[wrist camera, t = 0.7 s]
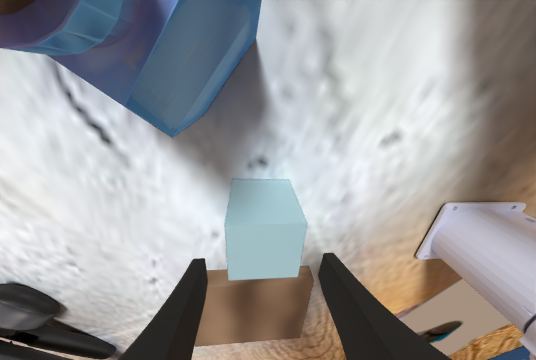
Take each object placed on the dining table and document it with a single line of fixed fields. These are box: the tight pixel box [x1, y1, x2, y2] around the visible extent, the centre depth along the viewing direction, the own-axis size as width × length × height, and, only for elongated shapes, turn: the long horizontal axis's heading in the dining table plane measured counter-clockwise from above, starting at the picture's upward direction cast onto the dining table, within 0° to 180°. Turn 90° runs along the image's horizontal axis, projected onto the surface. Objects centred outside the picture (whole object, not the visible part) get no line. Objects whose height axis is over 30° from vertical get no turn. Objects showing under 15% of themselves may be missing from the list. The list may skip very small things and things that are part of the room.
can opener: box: [0, 284, 115, 360], centre depth 21 cm, size 18×7×6 cm, turn 23°
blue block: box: [225, 179, 308, 280], centre depth 15 cm, size 5×5×6 cm
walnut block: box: [195, 266, 314, 347], centre depth 24 cm, size 14×12×2 cm
